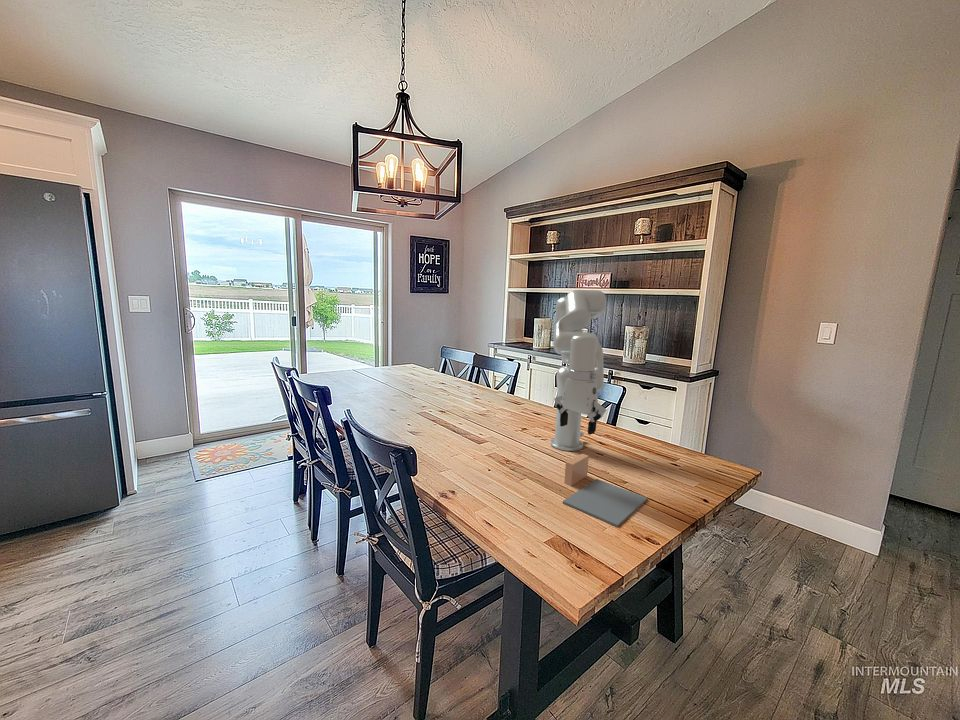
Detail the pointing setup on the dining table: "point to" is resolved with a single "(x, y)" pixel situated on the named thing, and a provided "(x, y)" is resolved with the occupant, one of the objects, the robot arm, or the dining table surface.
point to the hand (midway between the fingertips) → (577, 429)
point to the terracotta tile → (576, 469)
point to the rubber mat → (606, 502)
